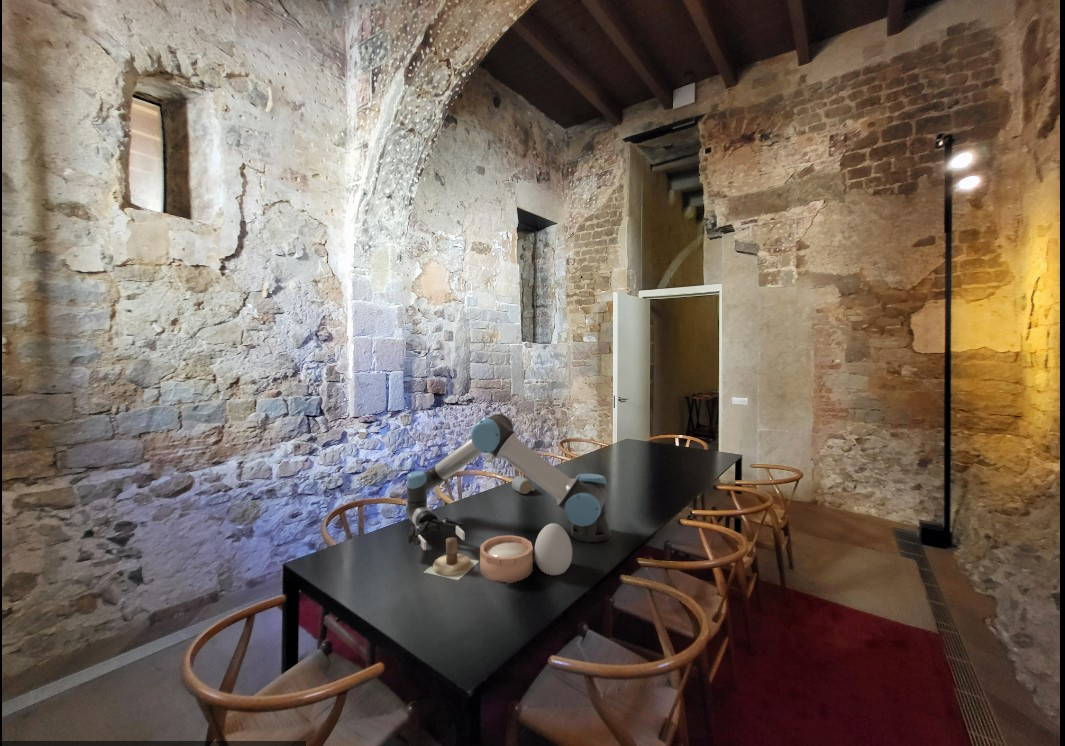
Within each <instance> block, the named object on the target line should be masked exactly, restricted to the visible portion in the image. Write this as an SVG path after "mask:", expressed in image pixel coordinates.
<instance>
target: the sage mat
mask: <svg viewBox="0 0 1065 746" xmlns="http://www.w3.org/2000/svg"><path fill="white" fill-rule="evenodd" d="M470 561H471V566H470V568H469V569H468V570H467V571H466V572H464V573H462V574H459V575H454V576H443V575H439V574H437V573H435V572H434V569H433V564H432V565H431V566H429V567H428V568H426V569H425V570H424V571H423V573H425V574H430V575H434V576H439V577H443V578H448V579H451V580H455V581H459V580H461V578H463V576H465V575H466V574H467V573H468V572H469V571H470V570H472V568H474V567H475V566H476V565H477V564H478V563H479V562H480V560H477V559H471V558H470Z"/></svg>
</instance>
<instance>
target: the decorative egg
mask: <svg viewBox="0 0 1065 746" xmlns="http://www.w3.org/2000/svg"><path fill="white" fill-rule="evenodd" d="M533 553H534V560H535V563H536V566H537V567H538V568H539V570H541V573H543V572H544V574H545V573H546V574H545V575H548V574H549V576H559V575H562V574H564V573H565V572H566V571H567V570H568V569H569V567H570V566H571V563H572V559H573V546H572V542H571V538H570V536H569V534H568V533H567V531H566V530H565V529H564V527H563V526H561V525H560V524H558V523H554V522H553V523H548V524H547V525H545V526H544V527H543V528H542V529H541V530H540V532H539V533H538V535H537V538H536V539H535V544H534V549H533Z"/></svg>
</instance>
